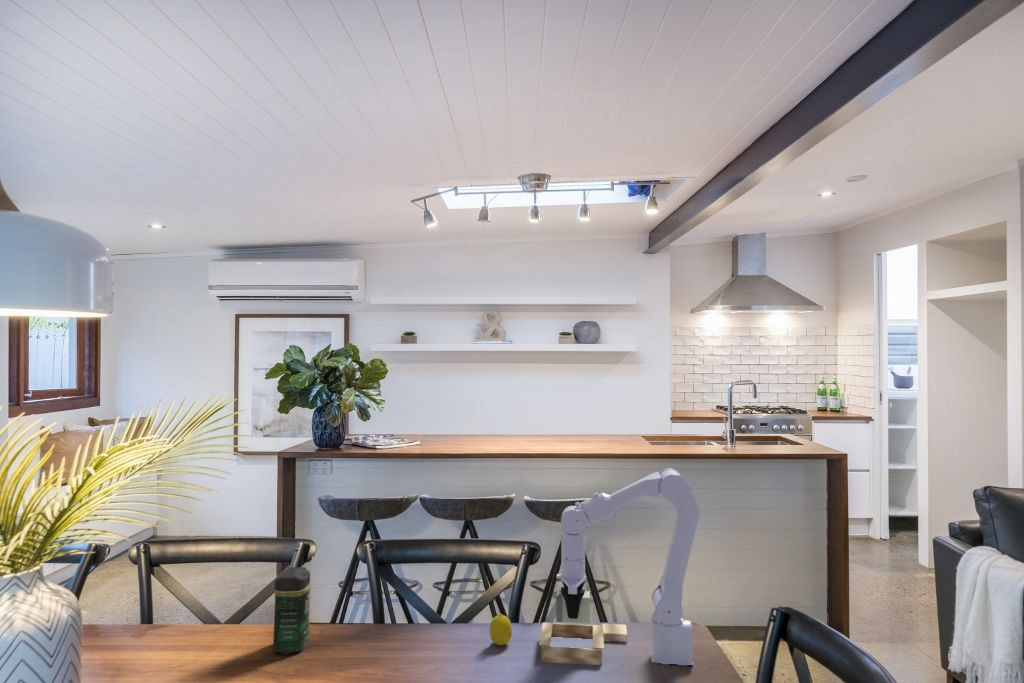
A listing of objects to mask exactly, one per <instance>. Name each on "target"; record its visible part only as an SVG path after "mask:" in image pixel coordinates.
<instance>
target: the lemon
mask: <svg viewBox="0 0 1024 683" xmlns="http://www.w3.org/2000/svg"><path fill="white" fill-rule="evenodd" d="M512 634H513V628H512V623H511V620H510V619H509V617H508V616H506V615H504V614H502V613H500V614H498V615H496V616H494V617H493V618H492V620H491V621H490V625H489V637H490V640H491V641H492V642H493V643H494V644H495V645H497V646H498V647H499V646H500V647H501V646H502V647H503V646H504V645H507V644H508V643H509V642H510V641H511V639H512V636H513V635H512Z"/></svg>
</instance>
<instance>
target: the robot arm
mask: <svg viewBox="0 0 1024 683" xmlns="http://www.w3.org/2000/svg"><path fill="white" fill-rule="evenodd" d="M660 494H661V495H662V497H663V498H664V499H665V500H666V501H667V502H670V504H672V505H673V507H674V509H675V510H676V512H677V514H676V518H675V522H674V526H673V531H672V534H671V539H670V543H669V548H668V552H667V555H666V560H665V564H664V569H663V573H662V575H661V577H660V578H659V582H658V585H657V586H656V587H655V589H654V590H653V591H652V594H651V600H652V601H651V602H652V604H653V607H654V611H653V613H652V614H651V647H652V653H651V654H652V655H651V654H650V653H649V656H650V660H651V662H652V663H657V664H658V663H662V664H661V665H669V664H677V665H676V666H687V665H693V666H694V657H693V656H694V650H693V649H694V645H693V643H694V640H693V638H694V637H693V626H692V621H691V620H687V619H683V614H684V609H683V605H682V601H683V596H684V595H683V594H684V593H683V592H684V590H683V589H684V588H683V586H684V581H685V575H686V572H687V568H688V563H689V560H690V554H691V551H692V546H693V542H694V539H695V534H696V528H697V526H698V521H699V518H700V507H699V505H698V503H697V500H696V497H695V495H694V494H695V493H694V492H693V488H692V487H691V485H690V484H689V483H688V482H687V480H686V479H685V478H684V477H683V475H682V474H681V473H680V472H679V471H678V470H677V469H674V468H671V467H668V468H664V469H662V470H661V471H657V472H652V473H650V474H648V475H646V476H644V477H642V478H641V479H639V480H636V481H635V482H632V483H631V484H629V485H627V486H625V487H623V488H621V489H619V490H617V491H615V492H612V493H611V494H608V493H605V492H600V493H598V492H595V493H593V494H592V497H591V498H587V499H586V500H583V501H582V502H579V501H576V502H575V503H574V504H575V505H569V506H567V507H565V509H564V510H563V511H562V513H561V516H560V518H561V519H560V525H561V528H562V530H561V540H560V541H561V544H560V545H561V546H560V548H561V551H560V553H561V558H560V559H561V563H560V564H561V565H560V566H561V573H557V574H556V579H557V580H561V583H562V584H563V587H560V590H561V593H562V595H563V597H564V599H565V603H566V608H567V613H568V617H569V618H571V619H577V618H578V614H579V608H580V603H581V600H582V597H583V595H584V593H585V591H586V590H585V589H583V587H584V586H585V583H586V580H587V576H586V538H585V535H584V533H585V528H586V526H591V525H592V526H593V525H594V524H596V523H598V522H601V521H602V520H604V519H607V518H609V517H611V516H613V515H614V514H615V510H616V508H618V507H620V506H623V505H625V504H628V503H630V502H632V501H636V500H637V499H638V500H639V499H640V498H642V497H645V496H649V497H651V498H652V497H653V498H658V499H660Z"/></svg>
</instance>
